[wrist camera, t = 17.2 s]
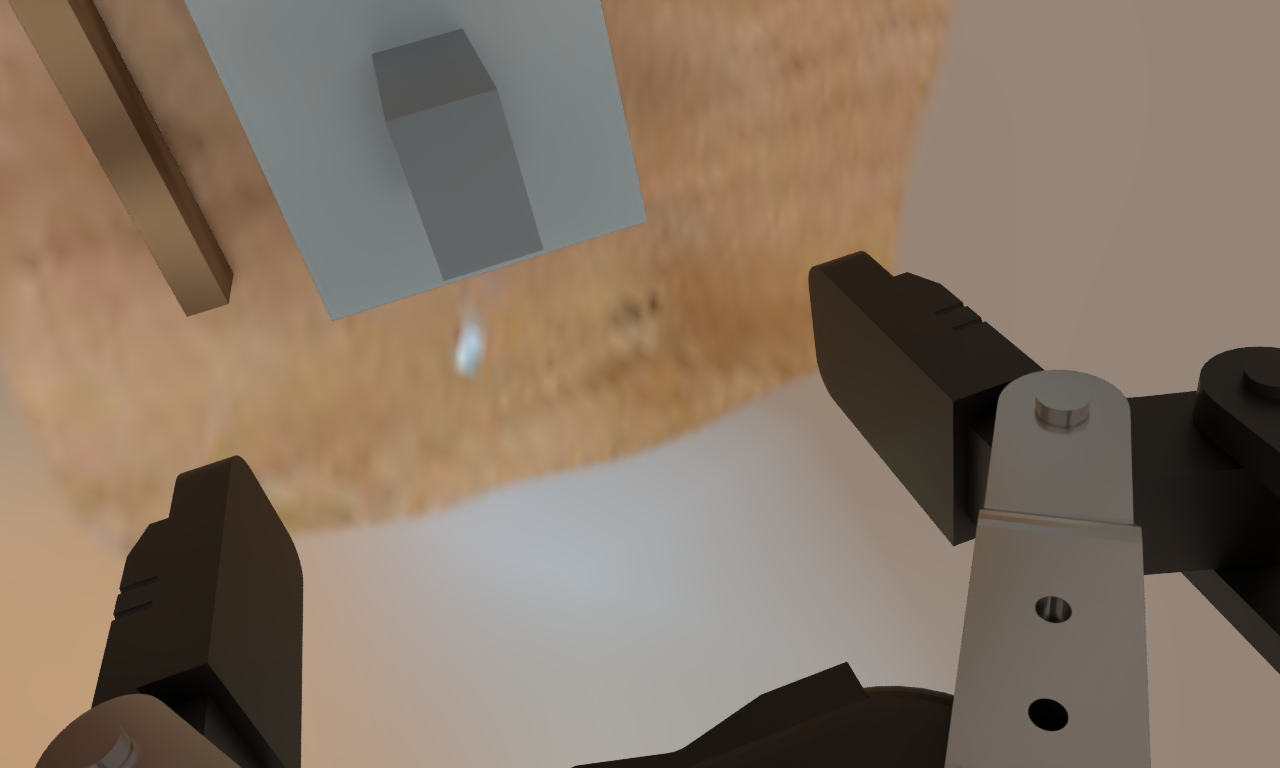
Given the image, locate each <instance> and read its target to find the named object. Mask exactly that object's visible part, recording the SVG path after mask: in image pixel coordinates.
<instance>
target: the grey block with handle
mask: <svg viewBox="0 0 1280 768" xmlns="http://www.w3.org/2000/svg"><path fill="white" fill-rule="evenodd" d="M184 1H185V3H186V5H187V7H188V10H189V12H190V14H191V16H192V18H193V20H194V23H195V25H196V27H197V29H198V31H199V34H200V36H201V38H202V40H203V42H204V44H205V47H206V49H207V51H208V53H209V55H210V57H211V60H212V62H213V64H214V66H215V68H216V70H217V73H218V75H219V77H220V79H221V81H222V83H223V86H224V88H225V90H226V92H227V94H228V97H229V99H230V101H231V103H232V105H233V107H234V110H235V112H236V114H237V116H238V118H239V120H240V123H241V125H242V127H243V129H244V131H245V133H246V136H247V138H248V140H249V142H250V144H251V147H252V149H253V151H254V153H255V155H256V157H257V160H258V162H259V164H260V166H261V168H262V170H263V173H264V175H265V177H266V179H267V181H268V183H269V186H270V188H271V190H272V192H273V194H274V196H275V199H276V201H277V203H278V205H279V207H280V210H281V212H282V214H283V216H284V218H285V220H286V223H287V225H288V227H289V229H290V231H291V233H292V236H293V238H294V240H295V242H296V244H297V246H298V249H299V251H300V253H301V255H302V257H303V260H304V262H305V264H306V266H307V268H308V270H309V273H310V275H311V277H312V279H313V281H314V283H315V286H316V288H317V290H318V292H319V294H320V296H321V299H322V301H323V303H324V305H325V307H326V310H327V312H328V314H329V316H330V318H331V320H332V321H333V320H337V319H340V318H343V317H346V316H349V315H352V314H356V313H359V312H362V311H365V310H368V309H371V308H375V307H378V306H381V305H384V304H387V303H390V302H394V301H397V300H400V299H403V298H406V297H409V296H413V295H416V294H419V293H422V292H425V291H428V290H432V289H435V288H438V287H441V286H444V285H447V284H451V283H454V282H457V281H460V280H463V279H467V278H470V277H473V276H476V275H479V274H482V273H486V272H489V271H492V270H495V269H498V268H501V267H505V266H508V265H511V264H514V263H517V262H520V261H524V260H527V259H530V258H533V257H536V256H539V255H543V254H546V253H549V252H552V251H555V250H558V249H562V248H565V247H568V246H571V245H574V244H577V243H581V242H584V241H587V240H590V239H593V238H596V237H600V236H603V235H606V234H609V233H612V232H615V231H619V230H622V229H625V228H628V227H631V226H635V225H638V224H641V223H644V222H647V218H646V213H645V208H644V204H643V199H642V194H641V190H640V185H639V180H638V175H637V171H636V166H635V161H634V157H633V152H632V147H631V143H630V138H629V133H628V128H627V124H626V119H625V114H624V110H623V105H622V100H621V96H620V91H619V86H618V81H617V77H616V72H615V67H614V63H613V58H612V53H611V49H610V44H609V39H608V34H607V30H606V25H605V20H604V16H603V11H602V6H601V2H600V0H184Z"/></svg>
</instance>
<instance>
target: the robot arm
mask: <svg viewBox="0 0 1280 768" xmlns="http://www.w3.org/2000/svg"><path fill="white" fill-rule="evenodd" d="M808 281H809V292H810V301H811V311H812V320H813V329H814V339H815V348H816V357H817V363H818V367H819V370H820V374H821V377H822V379H823V382H824V384H825V386H826V388H827V390H828V392H829V394H830V395H831V397H832V398H833V400H834V401H835V402H836V403H837V405H838V406H839V407H840V408H841V409H842V411H843V412H844V413H845V414H846V416H847V417H848V418H849V419H850V420H851V422H852V423H853V424H854V425H855V427H856V428H857V429H858V430H859V431H860V433H861V434H862V435H863V436H864V438H865V439H866V440H867V441H868V442H869V444H870V445H871V446H872V447H873V449H874V450H875V451H876V452H877V453H878V455H879V456H880V457H881V458H882V459H883V461H884V462H885V463H886V464H887V466H888V467H889V468H890V469H891V471H892V472H893V473H894V474H895V475H896V477H897V478H898V479H899V480H900V482H902V484H903V485H904V486H905V488H906V489H907V490H908V491H909V493H910V494H911V495H912V496H913V497H914V499H915V500H916V501H917V502H918V504H919V505H920V506H921V507H922V508H923V510H924V511H925V512H926V513H927V514H928V515H929V517H930V518H931V519H932V521H933V522H934V523H935V524H936V525H937V527H938V528H939V529H940V530H941V531H942V533H943V534H944V535H945V536H946V538H947V539H948V540H949V541H950V542H951V544H952V545H953V546H956V545H958V544H961V543H963V542H966V541H969V540H972V539H974V538H975V546H974V552H973V560H972V567H971V575H970V582H969V590H968V597H967V604H966V612H965V619H964V627H963V634H962V641H961V649H960V657H959V664H958V672H957V679H956V687H955V694H954V695H951V694H947V693H944V692H939V691H933V690H929V689H924V688H915V687H903V686H875V687H867V688H863V687H862V686H861V684H860V682H859V681H858V679H857V677H856V676H855V674H854V672H853V671H852V669H851V667H850V666H849V664H848V662H845V663H842V664H840V665H837V666H835V667H832V668H829V669H827V670H824V671H822V672H819V673H817V674H814V675H811V676H809V677H806V678H803V679H801V680H798V681H796V682H793V683H790V684H788V685H785V686H783V687H780V688H777V689H775V690H772V691H770V692H767V693H764V694H762V695H760V696H759V697H758V698H756V699H754V700H753V701H751V702H750V703H748V704H747V705H745V706H744V707H743V708H741V709H740V710H738V711H737V712H735V713H734V714H732V715H731V716H730V717H728V718H727V719H725V720H724V721H722V722H721V723H720V724H718V725H716V726H715V727H714V728H712V729H711V730H709V731H708V732H706V733H705V734H703V735H702V736H701V737H699V738H698V739H696V740H695V741H693V742H692V743H690V744H689V745H687V746H686V747H684V748H682V749H680V750H678V751H675V752H671V753H666V754H658V755H651V756H644V757H637V758H629V759H622V760H615V761H607V762H600V763H592V764H585V765H579V766H574V767H572V768H1151V759H1150V731H1149V706H1148V680H1147V679H1148V678H1147V653H1146V652H1147V651H1146V625H1145V601H1144V599H1145V598H1144V575H1149V574H1161V573H1174V572H1181V573H1182V574H1183V575H1184V576H1185V577H1186V578H1187V579H1188V580H1189V581H1190V582H1191V583H1192V584H1193V585H1194V586H1195V587H1196V588H1197V589H1198V590H1199V591H1200V592H1201V593H1202V594H1203V595H1204V596H1205V597H1206V598H1207V599H1208V600H1209V602H1210V603H1211V604H1212V605H1213V606H1214V607H1215V608H1216V609H1217V610H1218V611H1219V612H1220V613H1221V614H1222V615H1223V616H1224V617H1225V618H1226V619H1227V620H1228V621H1229V622H1230V623H1231V624H1232V625H1233V626H1234V627H1235V628H1236V629H1237V630H1238V631H1239V633H1240V634H1241V635H1242V636H1243V637H1244V638H1245V639H1246V640H1247V641H1248V642H1249V643H1250V644H1251V645H1252V646H1253V647H1254V648H1255V649H1256V650H1257V651H1258V652H1259V653H1260V654H1261V655H1262V656H1263V657H1264V658H1265V659H1266V660H1267V662H1268V663H1269V664H1270V665H1272V667H1273V668H1274V669H1275V670H1276V671H1277V672H1278V673H1279V674H1280V348H1273V347H1245V348H1237V349H1233V350H1229V351H1226V352H1223V353H1220V354H1218V355H1216V356H1214V357H1213V358H1211V359H1210V360H1209V361H1208V362H1206V363H1205V365H1204V366H1203V368H1202V369H1201V373H1200V377H1199V383H1198V388H1197V391H1191V392H1183V393H1173V394H1163V395H1154V396H1145V397H1133V398H1126V397H1125V396H1124V395H1123V393H1122V392H1121V391H1120V390H1119V389H1117V388H1116V387H1115V386H1114V385H1112V384H1110V383H1109V382H1107V381H1105V380H1103V379H1101V378H1099V377H1096V376H1093V375H1090V374H1087V373H1082V372H1078V371H1070V370H1046V371H1045V370H1044V369H1042V368H1041V367H1040V366H1039V365H1038V364H1037V363H1035V362H1034V361H1033V360H1032V359H1031V358H1029V357H1028V356H1027V355H1025V354H1024V353H1023V352H1022V351H1021V350H1019V349H1018V348H1017V347H1016V346H1015V345H1014V344H1012V343H1011V342H1010V341H1009V340H1008V339H1006V338H1005V337H1004V336H1003V335H1002V334H1000V333H999V332H998V331H997V330H996V329H994V328H993V327H992V326H991V325H989V324H988V323H987V322H982V320H981V317H980V316H979V315H977V314H976V313H975V312H974V311H972V310H971V309H970V308H969V307H968V306H966V307H964V305H963V302H962V301H960V300H959V299H958V298H957V297H956V296H954V295H953V294H952V293H951V292H950V291H948V290H947V289H946V288H945V287H943V286H942V285H941V284H939V283H936V282H934V281H931V280H928V279H925V278H922V277H920V276H917V275H914V274H911V273H908V272H906V273H903V274H900V275H897V276H894V277H893V276H892V275H891V274H890V273H889V272H888V271H887V270H885V269H884V268H883V267H882V266H881V265H880V264H879V263H877V262H876V261H875V260H874V259H873V258H872V257H871V256H870V255H868V254H867V253H866V252H863V251H859V252H856V253H853V254H850V255H847V256H844V257H841V258H838V259H835V260H832V261H829V262H826V263H823V264H819V265H816V266H814V267H812V268H811V269H810V271H809V279H808ZM119 589H120V591H121V594H119V595H118V597H117V601H116V605H115V610H114V617H115V620H113V621H112V622H111V627H110V631H109V635H108V639H107V644H106V648H105V652H104V656H103V660H102V665H101V669H100V673H99V677H98V682H97V686H96V690H95V695H94V698H93V703H92V707H91V709H90V710H88V711H87V712H85V713H84V714H82V715H81V716H79V717H78V718H77V719H75V720H74V721H73V722H71V723H70V724H69V725H68V726H67V727H66V728H65V729H63V730H62V731H61V732H60V733H59V734H58V735H57V737H56V738H55V739H54V740H53V741H52V742H51V743H50V744H49V746H48V747H47V749H46V750H45V751H44V752H43V754H42V756H41V757H40V759H39V761H38V762H37V764H36V767H35V768H301V713H302V711H301V710H302V635H303V633H302V632H303V575H302V568H301V565H300V560H299V557H298V554H297V551H296V548H295V546H294V543H293V541H292V539H291V537H290V535H289V533H288V532H287V530H286V528H285V527H284V525H283V523H282V521H281V520H280V518H279V516H278V515H277V513H276V511H275V510H274V508H273V506H272V504H271V503H270V501H269V499H268V498H267V496H266V494H265V492H264V491H263V489H262V487H261V486H260V484H259V482H258V481H257V479H256V477H255V475H254V474H253V472H252V470H251V469H250V467H249V466H248V464H247V463H246V462H245V460H244V459H243V458H241V457H240V456H233V457H230V458H227V459H224V460H221V461H218V462H215V463H212V464H208V465H205V466H202V467H199V468H196V469H193V470H190V471H187V472H184V473H181V474H180V475H178V477H177V479H176V483H175V488H174V493H173V498H172V503H171V509H170V514H169V518H167V519H164V520H161V521H158V522H155V523H152V524H149V526H148V527H147V529H146V530H145V532H144V533H143V535H142V536H141V537H140V539H139V540H138V542H137V543H136V545H135V546H134V547H133V549H132V550H131V552H130V553H129V555H128V556H127V558H126V563H125V567H124V571H123V576H122V580H121V584H120V588H119Z"/></svg>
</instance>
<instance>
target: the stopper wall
mask: <svg viewBox="0 0 1280 768" xmlns="http://www.w3.org/2000/svg"><path fill="white" fill-rule="evenodd" d="M8 2H9V4H10V5H11V7H12V9H13V11H14V12H15V14H16V16H17V18H18V20H19V21H20V23H21V25H22V27H23V28H24V30H25V32H26V34H27V35H28V37H29V39H30V41H31V42H32V44H33V46H34V48H35V50H36V51H37V53H38V55H39V57H40V58H41V60H42V62H43V64H44V65H45V67H46V69H47V71H48V72H49V74H50V76H51V78H52V80H53V81H54V83H55V85H56V87H57V88H58V90H59V92H60V94H61V95H62V97H63V99H64V101H65V102H66V104H67V106H68V108H69V109H70V111H71V113H72V115H73V117H74V118H75V120H76V122H77V124H78V125H79V127H80V129H81V131H82V132H83V134H84V136H85V138H86V139H87V141H88V143H89V145H90V147H91V148H92V150H93V152H94V154H95V155H96V157H97V159H98V161H99V162H100V164H101V166H102V168H103V169H104V171H105V173H106V175H107V177H108V178H109V180H110V182H111V184H112V185H113V187H114V189H115V191H116V192H117V194H118V196H119V198H120V199H121V201H122V203H123V205H124V206H125V208H126V210H127V212H128V214H129V215H130V217H131V219H132V221H133V222H134V224H135V226H136V228H137V229H138V231H139V233H140V235H141V236H142V238H143V240H144V242H145V244H146V245H147V247H148V249H149V251H150V252H151V254H152V256H153V258H154V259H155V261H156V263H157V265H158V266H159V268H160V270H161V272H162V274H163V275H164V277H165V279H166V281H167V282H168V284H169V286H170V288H171V289H172V291H173V293H174V295H175V296H176V298H177V300H178V302H179V304H180V305H181V307H182V309H183V311H184V312H185V314H186V316H187V317H188V316H191V315H194V314H198V313H201V312H204V311H207V310H210V309H214V308H217V307H220V306H223V305H226V304H229V298H230V292H231V286H232V279H233V272H232V271H231V269H230V267H229V265H228V263H227V261H226V259H225V257H224V255H223V253H222V251H221V249H220V247H219V245H218V243H217V242H216V240H215V238H214V236H213V234H212V232H211V230H210V228H209V226H208V224H207V222H206V220H205V218H204V216H203V214H202V212H201V211H200V209H199V207H198V205H197V203H196V201H195V199H194V197H193V195H192V193H191V191H190V189H189V187H188V185H187V183H186V182H185V180H184V178H183V176H182V174H181V172H180V170H179V168H178V166H177V164H176V162H175V160H174V158H173V156H172V154H171V153H170V151H169V149H168V147H167V145H166V143H165V141H164V139H163V137H162V135H161V133H160V131H159V129H158V127H157V125H156V123H155V122H154V120H153V118H152V116H151V114H150V112H149V110H148V108H147V106H146V104H145V102H144V100H143V98H142V96H141V94H140V93H139V91H138V89H137V87H136V85H135V83H134V81H133V79H132V77H131V75H130V73H129V71H128V69H127V67H126V65H125V64H124V62H123V60H122V58H121V56H120V54H119V52H118V50H117V48H116V46H115V44H114V42H113V40H112V38H111V36H110V34H109V33H108V31H107V29H106V27H105V25H104V23H103V21H102V19H101V17H100V15H99V13H98V11H97V9H96V7H95V5H94V4H93V2H92V0H8Z"/></svg>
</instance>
